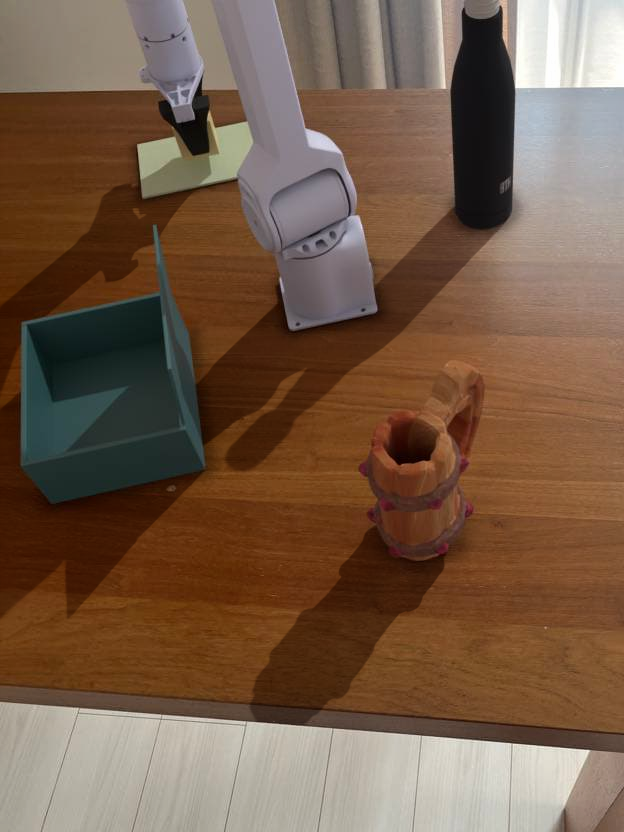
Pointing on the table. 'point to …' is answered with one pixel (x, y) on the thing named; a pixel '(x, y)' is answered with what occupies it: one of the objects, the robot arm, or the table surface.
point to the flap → (168, 326)
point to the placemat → (192, 162)
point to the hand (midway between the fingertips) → (198, 139)
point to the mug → (425, 466)
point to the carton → (105, 400)
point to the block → (212, 142)
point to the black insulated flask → (483, 118)
